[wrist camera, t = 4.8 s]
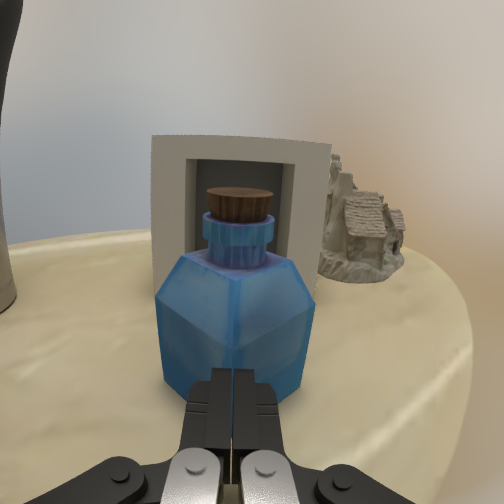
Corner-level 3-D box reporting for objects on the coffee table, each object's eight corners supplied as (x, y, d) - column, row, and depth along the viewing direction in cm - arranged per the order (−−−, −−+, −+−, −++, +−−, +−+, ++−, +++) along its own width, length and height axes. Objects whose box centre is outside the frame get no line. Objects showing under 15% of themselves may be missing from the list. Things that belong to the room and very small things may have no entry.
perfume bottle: (229, 438, 14) (237, 209, 10) (164, 380, 18) (150, 188, 14) (299, 386, 19) (330, 198, 15) (233, 346, 23) (241, 181, 19)
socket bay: (155, 299, 28) (151, 135, 24) (173, 264, 37) (173, 138, 32) (312, 305, 29) (331, 144, 24) (296, 270, 38) (308, 144, 33)
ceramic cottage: (310, 279, 35) (333, 146, 31) (301, 242, 51) (315, 151, 46) (427, 294, 34) (454, 177, 30) (387, 256, 50) (404, 170, 46)
